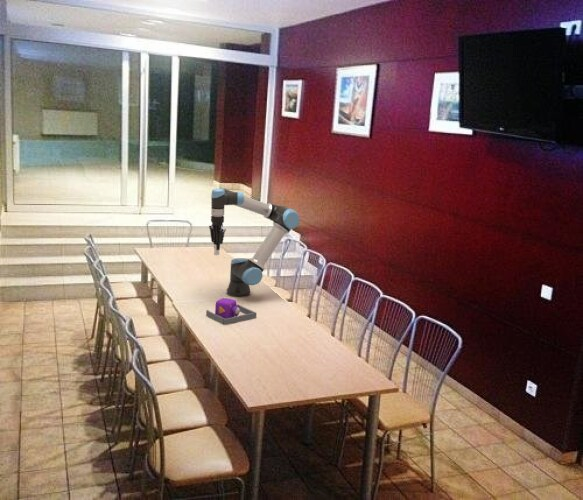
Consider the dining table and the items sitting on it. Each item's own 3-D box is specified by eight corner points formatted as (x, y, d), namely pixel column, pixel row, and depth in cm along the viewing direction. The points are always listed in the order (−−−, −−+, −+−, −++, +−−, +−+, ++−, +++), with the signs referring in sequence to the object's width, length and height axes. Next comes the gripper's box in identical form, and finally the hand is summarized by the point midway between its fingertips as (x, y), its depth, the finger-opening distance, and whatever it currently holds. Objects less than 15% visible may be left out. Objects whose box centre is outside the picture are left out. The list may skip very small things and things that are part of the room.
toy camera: (236, 321, 330) (237, 304, 328) (213, 317, 333) (214, 300, 331) (242, 315, 341) (243, 298, 338) (219, 312, 343) (220, 295, 341)
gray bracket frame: (236, 309, 351) (237, 303, 350) (256, 317, 338) (256, 311, 337) (205, 315, 335) (205, 309, 335) (224, 324, 323) (224, 318, 322)
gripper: (205, 214, 348) (204, 253, 354) (219, 218, 339) (218, 258, 345) (215, 213, 353) (214, 251, 359) (229, 216, 345) (228, 256, 350)
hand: (216, 254), depth 352 cm, fingers closed
